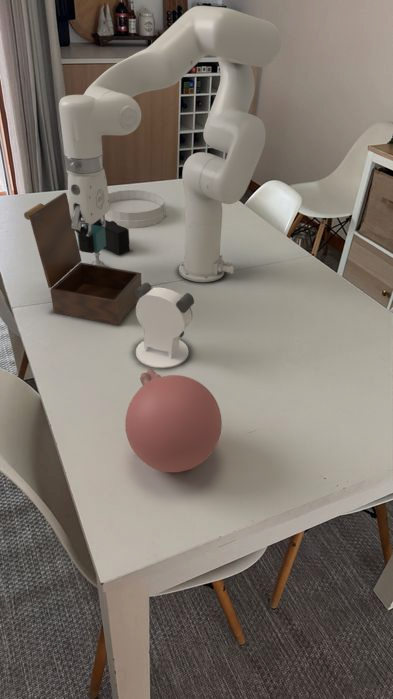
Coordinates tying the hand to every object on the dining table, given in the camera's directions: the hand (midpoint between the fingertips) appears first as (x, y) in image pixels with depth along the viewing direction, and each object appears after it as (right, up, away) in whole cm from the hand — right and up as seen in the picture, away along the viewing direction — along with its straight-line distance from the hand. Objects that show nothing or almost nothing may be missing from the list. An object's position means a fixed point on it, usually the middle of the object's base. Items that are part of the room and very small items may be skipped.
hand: (92, 246), depth 113 cm
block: (0, 0, 0) cm, 0 cm away
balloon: (+18, -40, -26) cm, 51 cm away
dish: (+1, +23, +60) cm, 64 cm away
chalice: (-4, -1, +26) cm, 27 cm away
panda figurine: (+16, -24, -3) cm, 29 cm away
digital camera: (-1, +7, +39) cm, 39 cm away
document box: (-1, -12, +12) cm, 17 cm away
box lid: (-9, +2, +5) cm, 11 cm away
